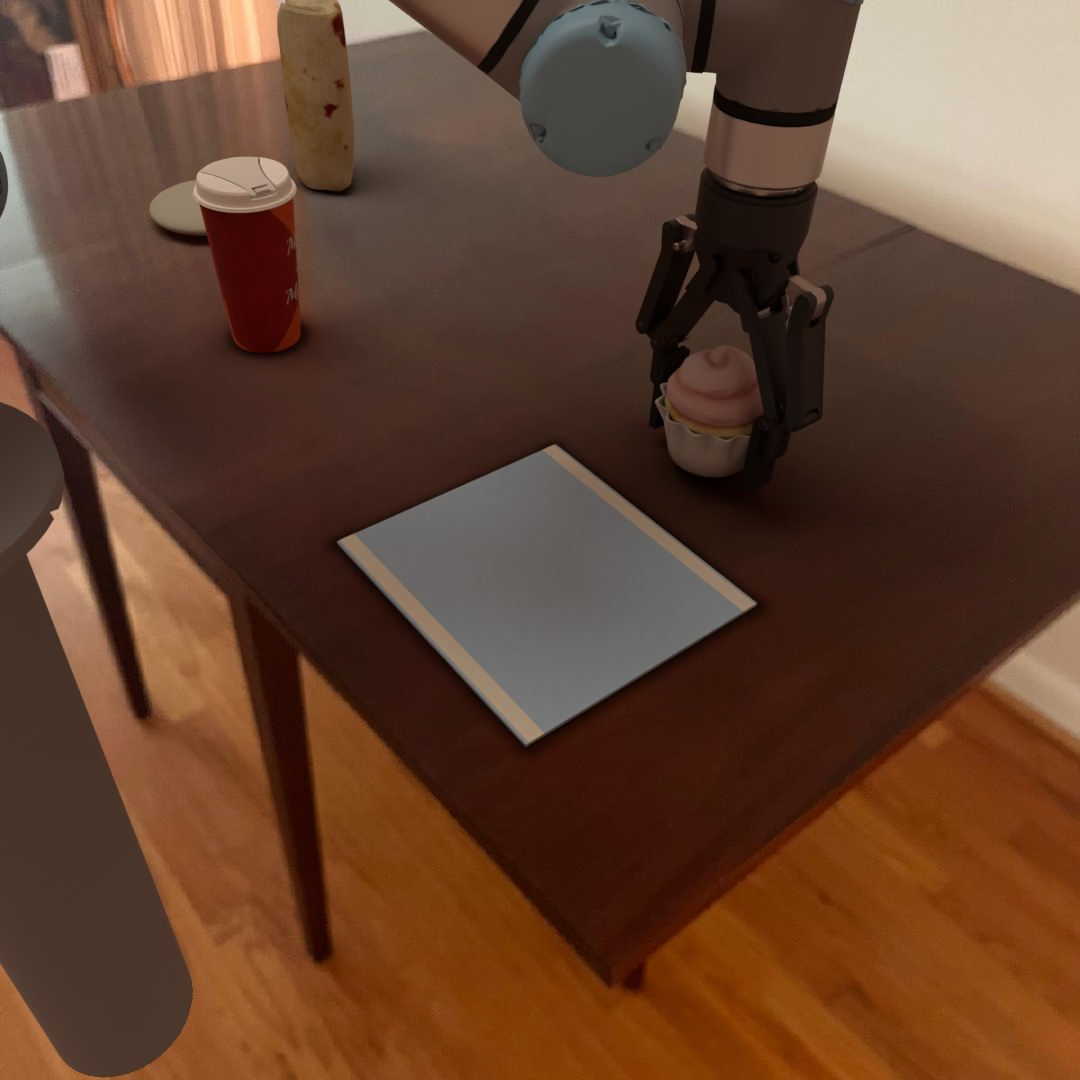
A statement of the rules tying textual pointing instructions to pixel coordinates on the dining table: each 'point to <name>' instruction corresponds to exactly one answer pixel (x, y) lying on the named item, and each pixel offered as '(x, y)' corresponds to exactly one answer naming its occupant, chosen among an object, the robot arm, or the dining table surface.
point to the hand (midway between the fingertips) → (707, 452)
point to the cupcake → (711, 411)
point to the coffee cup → (253, 248)
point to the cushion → (178, 210)
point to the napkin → (544, 588)
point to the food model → (317, 91)
